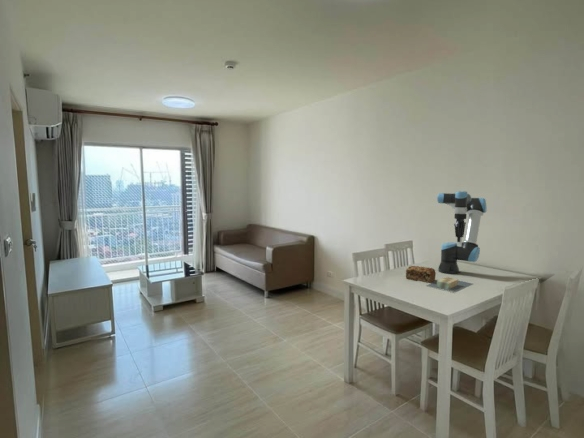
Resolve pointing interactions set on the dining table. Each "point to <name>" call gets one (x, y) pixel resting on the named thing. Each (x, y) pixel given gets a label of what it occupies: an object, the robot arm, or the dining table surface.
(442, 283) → the slab
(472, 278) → the dining table surface
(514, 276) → the dining table surface
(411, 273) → the bread
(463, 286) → the mat
